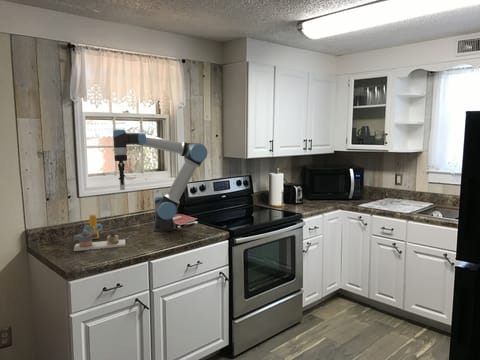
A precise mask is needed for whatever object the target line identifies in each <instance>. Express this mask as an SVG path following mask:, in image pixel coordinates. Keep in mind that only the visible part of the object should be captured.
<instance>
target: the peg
mask: <svg viewBox="0 0 480 360" xmlns="http://www.w3.org/2000/svg"><path fill="white" fill-rule="evenodd" d="M87 230H88V229H86V230H84V229H83V230H82V233H83V236H86V235H88V232H89V231H88V232H87ZM78 242H79V243H78V244H79V246H80V247H89V246H92V242H93V239H91V240H88V241H85V242H84V241H78Z"/></svg>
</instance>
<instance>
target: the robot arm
mask: <svg viewBox="0 0 480 360" xmlns="http://www.w3.org/2000/svg"><path fill="white" fill-rule="evenodd" d="M112 133H113V134H112V139H113V149H112V151H114V153H113V154H114V157H113V158H114V161H115V162H118V163H117V167H118V172H119V177H118V180H119V191H125V190H126V187H125V185H126V183H125V178H126V175H125V172H124V171H125V167H126V166H125V165H126V164H125V163H124V162H126V161H128V150H127V149H128V148H127V145H128V146H129V145H138V146H142V147H145V148H146V147H147V148H152V149H155V150H156V149H157V150H160V151H164V152H168V153H169V152H170V153H174V154H177V155H180V157H183V161H184V162H183V163H182V166H181V167H180V169H179V171H178V173H177V175H176V177H175V179H174V181H173V182H172V184H171V186H170V188H169V190H168V192H167V193H166V194H163V195H162V196H155V197H154V201H153V202H154V215H155V220H154V223H153V227H152V229H153V231H154V232H155V233H156V232H157V233H167V232H172V231H175V230H176V228H177V227H176V224H175V221H174V217H176V214H177V212H178V210H177V209H178V207H179V206H180V203H181V202H180V199H181V196H182V195H183V193H184V192H185V190H186V188H187V185H188V184H189V182H190V180H191V179H192V177H193V175H194V173H195V171H196V169H197V168H200V167H201V165H202V163H203V162H204V161H205V160H206V159H207V157H208V152H209V151H208V148H207V147H206V146H205V144H203V143H199V142H185V141H183V142H179V141H174V140H169V139H167V138H166V139H165V138H161V137H157V136H152V135H148V134H146V132H145V131H143V132H141V131H137V132H135V131H134V132H132V131H131V132H128V131H127V130H126V128H124V129H121V128H120V129H114V130H113V131H112Z"/></svg>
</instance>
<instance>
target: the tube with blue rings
mask: <svg viewBox="0 0 480 360" xmlns="http://www.w3.org/2000/svg"><path fill="white" fill-rule="evenodd" d="M88 217H89V218H88V219H89V225H88V224H86V225H84V227H83V230H87V232H90V233H97V238H95V239H94V240H97V239H99V238H100V233H99V232H102V231H103V230H104V226H103V225H102V224H101V223H97V214H90V215H88Z"/></svg>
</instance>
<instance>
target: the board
mask: <svg viewBox="0 0 480 360" xmlns="http://www.w3.org/2000/svg"><path fill="white" fill-rule="evenodd" d="M119 247H121V248H122V247H126V239H125V238H124V239H119V243H117V244H107V240H105V241H102V240H101V241H92V246H89V247H80V246H79V243H75V245H74V247H73V252H80V251H89V250H90V249H91V250H98V249H99V250H100V249H101V248H102V249H112V248H119ZM91 250H90V251H91Z"/></svg>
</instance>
